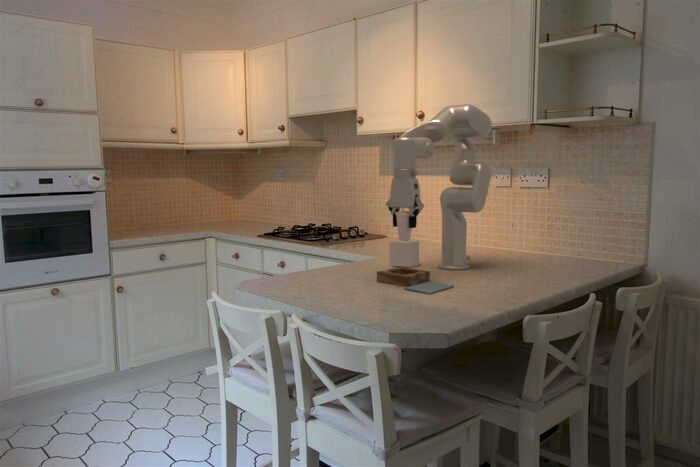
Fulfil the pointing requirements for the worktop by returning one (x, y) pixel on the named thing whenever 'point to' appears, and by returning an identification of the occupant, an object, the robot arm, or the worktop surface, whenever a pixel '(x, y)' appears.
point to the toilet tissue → (404, 253)
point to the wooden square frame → (403, 276)
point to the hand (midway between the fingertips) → (404, 226)
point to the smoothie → (403, 225)
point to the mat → (429, 287)
